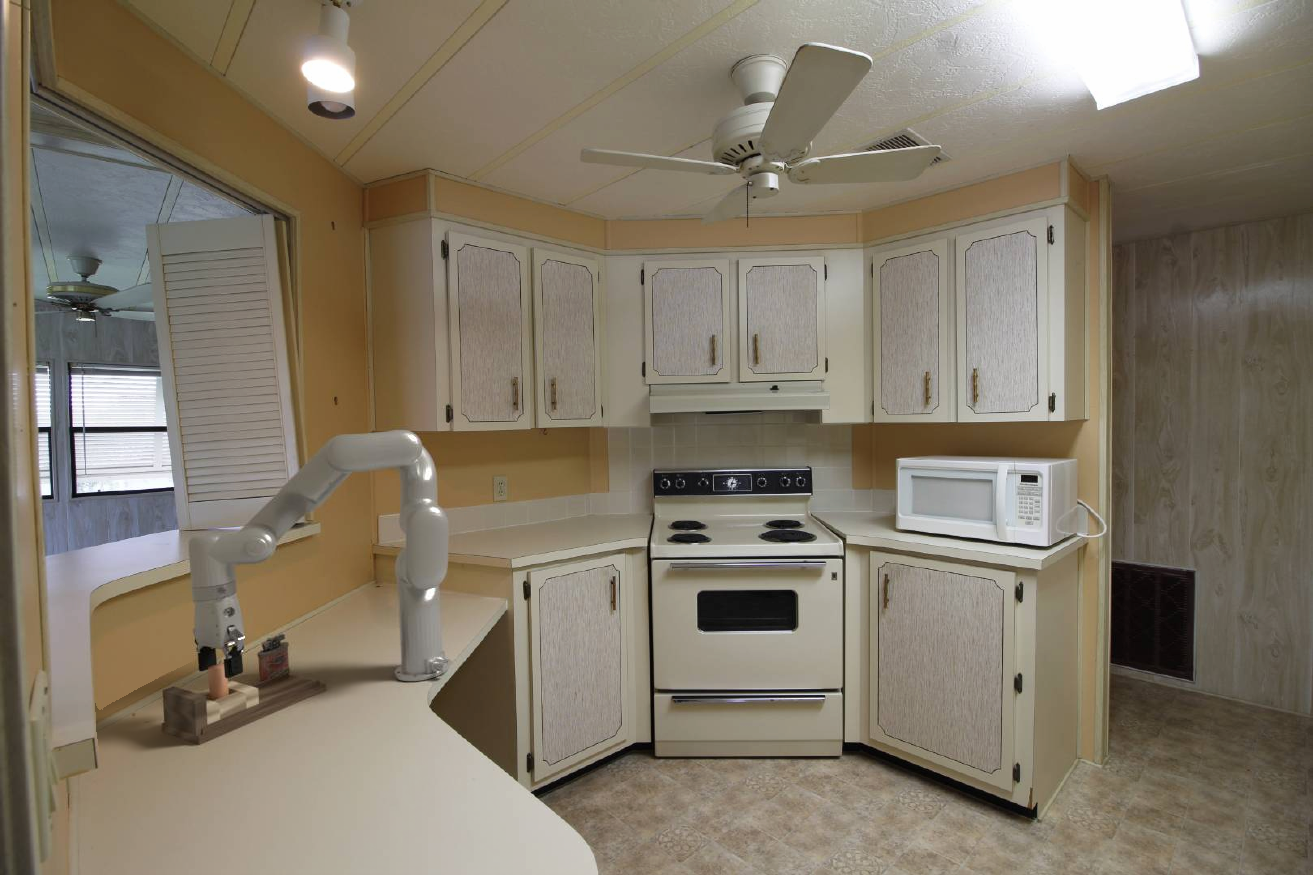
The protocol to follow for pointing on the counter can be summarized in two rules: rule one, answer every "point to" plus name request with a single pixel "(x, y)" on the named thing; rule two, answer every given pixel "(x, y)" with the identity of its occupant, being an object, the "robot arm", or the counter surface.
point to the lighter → (273, 658)
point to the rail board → (190, 713)
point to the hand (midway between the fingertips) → (220, 672)
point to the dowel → (217, 682)
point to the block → (230, 701)
